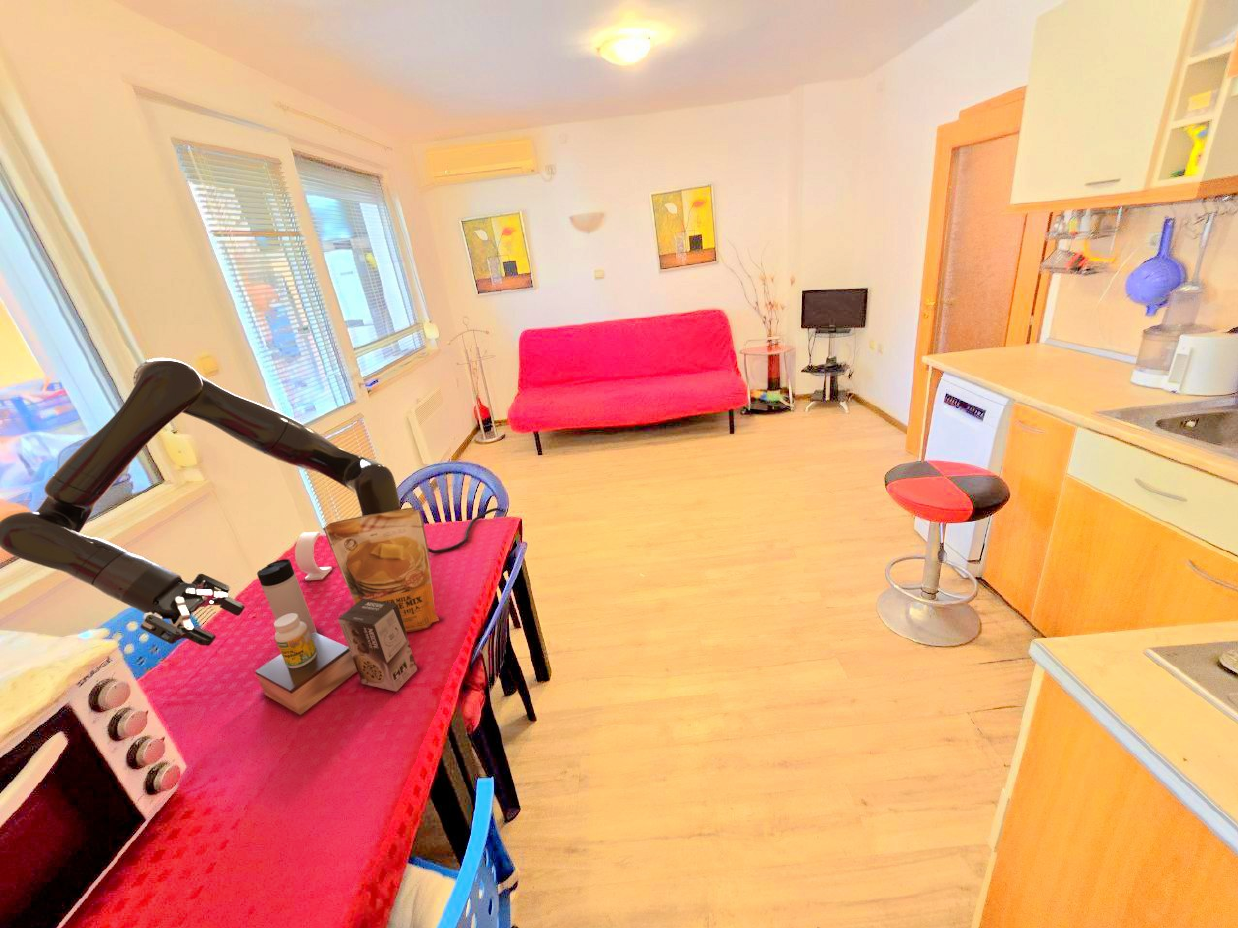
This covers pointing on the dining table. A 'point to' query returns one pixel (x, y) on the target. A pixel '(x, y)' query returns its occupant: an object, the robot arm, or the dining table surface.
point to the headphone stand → (309, 557)
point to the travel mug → (285, 592)
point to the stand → (307, 675)
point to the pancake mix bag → (387, 562)
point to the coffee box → (378, 644)
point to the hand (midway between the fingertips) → (227, 625)
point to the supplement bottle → (294, 641)
